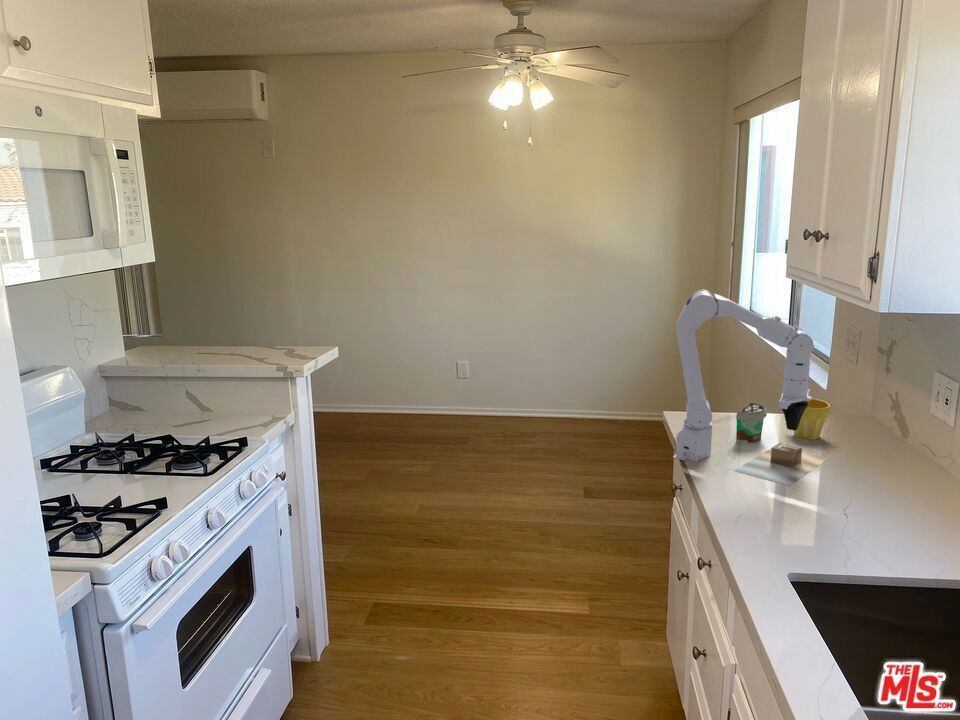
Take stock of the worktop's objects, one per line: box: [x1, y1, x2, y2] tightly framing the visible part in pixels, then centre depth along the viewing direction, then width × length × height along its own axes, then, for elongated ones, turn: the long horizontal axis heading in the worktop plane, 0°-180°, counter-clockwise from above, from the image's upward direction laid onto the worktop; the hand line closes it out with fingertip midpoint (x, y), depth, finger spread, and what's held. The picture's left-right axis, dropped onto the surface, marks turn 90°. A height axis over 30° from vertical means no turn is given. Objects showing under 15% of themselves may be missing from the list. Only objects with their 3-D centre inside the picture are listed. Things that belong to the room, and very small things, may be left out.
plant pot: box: [793, 398, 831, 440], centre depth 204 cm, size 10×10×10 cm
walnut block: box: [770, 441, 803, 468], centre depth 184 cm, size 6×6×4 cm
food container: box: [735, 400, 768, 444], centre depth 201 cm, size 12×6×10 cm, turn 143°
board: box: [733, 448, 830, 487], centre depth 183 cm, size 24×14×1 cm, turn 134°
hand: (792, 429), depth 185 cm, fingers closed
